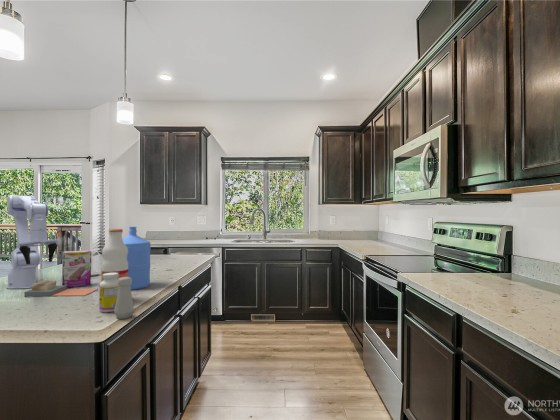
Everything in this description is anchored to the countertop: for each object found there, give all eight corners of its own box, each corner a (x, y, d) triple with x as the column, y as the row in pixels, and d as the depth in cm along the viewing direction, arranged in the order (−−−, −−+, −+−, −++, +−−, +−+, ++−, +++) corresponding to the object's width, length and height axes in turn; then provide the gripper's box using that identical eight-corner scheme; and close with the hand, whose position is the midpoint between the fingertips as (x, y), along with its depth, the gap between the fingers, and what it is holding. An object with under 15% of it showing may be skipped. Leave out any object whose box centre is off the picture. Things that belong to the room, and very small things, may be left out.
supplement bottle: (101, 308, 112) (102, 272, 112) (121, 306, 114) (122, 271, 114) (97, 313, 105) (97, 275, 105) (118, 312, 107) (119, 274, 108)
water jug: (157, 284, 150) (158, 226, 150) (132, 292, 135) (133, 227, 135) (131, 282, 155) (132, 226, 155) (104, 289, 140) (105, 227, 140)
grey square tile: (24, 296, 126) (24, 291, 126) (42, 290, 137) (43, 285, 137) (50, 296, 127) (50, 291, 127) (66, 289, 138) (66, 285, 138)
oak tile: (31, 290, 128) (31, 284, 128) (41, 286, 134) (41, 281, 134) (47, 290, 129) (47, 284, 129) (56, 286, 135) (56, 281, 135)
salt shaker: (112, 320, 99) (112, 279, 99) (116, 315, 104) (116, 276, 104) (132, 319, 100) (132, 278, 101) (135, 313, 106) (135, 275, 106)
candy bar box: (62, 289, 139) (63, 252, 139) (61, 287, 143) (62, 251, 143) (91, 285, 146) (91, 250, 146) (89, 283, 150) (90, 249, 150)
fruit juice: (99, 299, 123) (101, 228, 124) (126, 295, 129) (127, 228, 129) (101, 304, 116) (102, 229, 116) (129, 301, 121) (130, 229, 121)
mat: (51, 296, 127) (51, 295, 127) (67, 289, 138) (67, 289, 138) (84, 296, 128) (84, 295, 128) (98, 289, 139) (98, 288, 139)
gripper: (13, 231, 126) (14, 265, 124) (56, 228, 132) (57, 260, 130) (19, 233, 133) (20, 265, 131) (60, 230, 138) (61, 260, 137)
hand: (39, 263), depth 131 cm, fingers open, 7 cm apart
